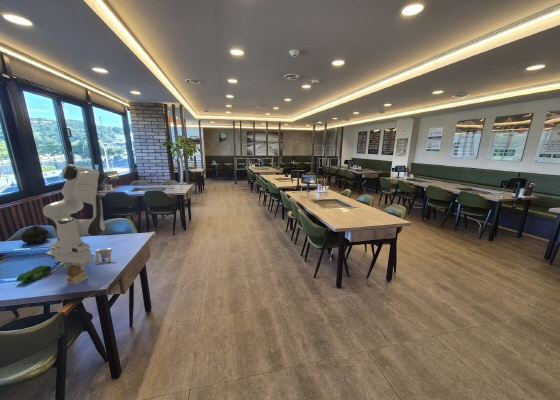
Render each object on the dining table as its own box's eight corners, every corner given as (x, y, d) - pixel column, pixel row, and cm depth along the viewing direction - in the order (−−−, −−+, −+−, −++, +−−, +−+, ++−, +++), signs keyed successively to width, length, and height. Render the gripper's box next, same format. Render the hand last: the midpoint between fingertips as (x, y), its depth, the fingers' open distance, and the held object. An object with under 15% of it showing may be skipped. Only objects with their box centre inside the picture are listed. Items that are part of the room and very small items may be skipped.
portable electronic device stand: (94, 265, 148) (92, 253, 146) (98, 260, 155) (97, 248, 153) (110, 263, 151) (108, 251, 149) (113, 258, 158) (112, 247, 156)
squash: (25, 233, 184) (19, 223, 174) (51, 231, 193) (47, 221, 183) (23, 249, 178) (17, 239, 168) (50, 245, 186) (45, 236, 177)
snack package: (13, 285, 124) (11, 276, 123) (43, 270, 140) (42, 263, 139) (26, 285, 124) (24, 277, 123) (54, 271, 140) (53, 263, 138)
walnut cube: (67, 275, 127) (66, 267, 126) (76, 270, 131) (75, 263, 130) (75, 276, 126) (74, 267, 125) (84, 271, 131) (82, 263, 130)
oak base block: (67, 282, 127) (66, 275, 126) (77, 276, 133) (76, 270, 132) (76, 283, 126) (75, 276, 126) (86, 277, 132) (85, 271, 131)
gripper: (48, 247, 123) (53, 270, 126) (81, 250, 121) (85, 273, 124) (60, 242, 130) (65, 264, 132) (92, 245, 127) (96, 267, 130)
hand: (75, 268), depth 128 cm, fingers open, 8 cm apart
